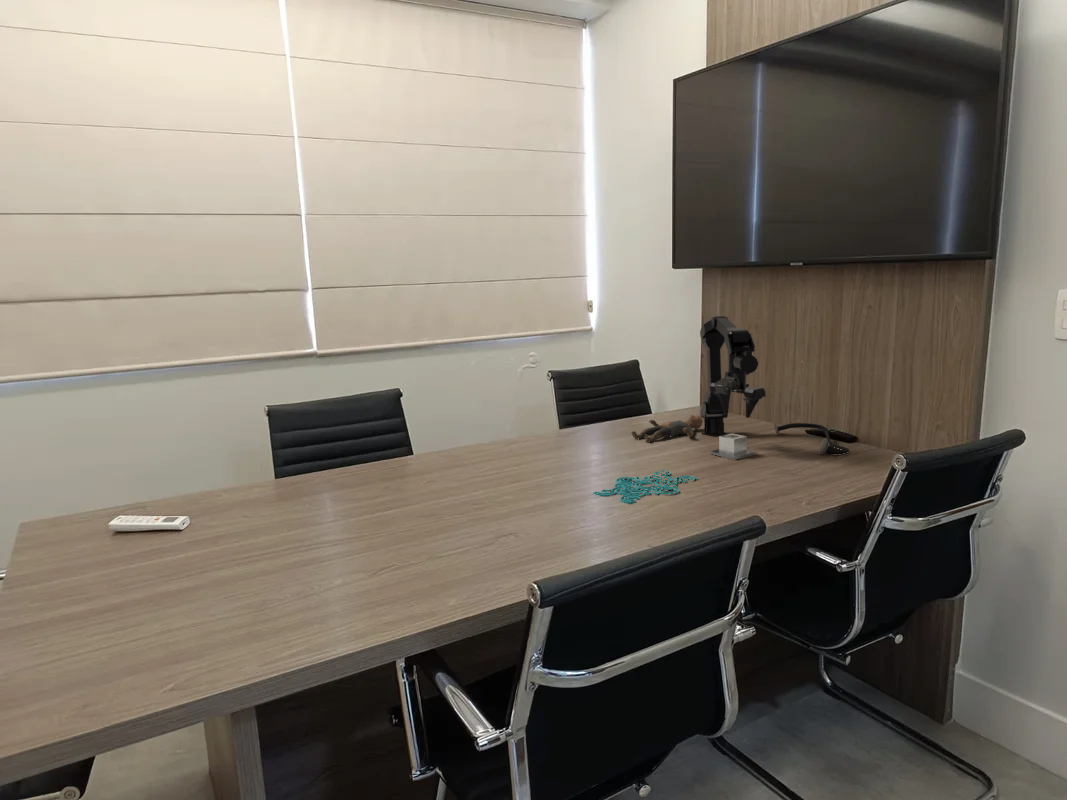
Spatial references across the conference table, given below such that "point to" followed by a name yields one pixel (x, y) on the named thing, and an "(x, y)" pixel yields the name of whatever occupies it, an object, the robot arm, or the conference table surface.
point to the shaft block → (731, 456)
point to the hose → (825, 446)
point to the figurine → (670, 429)
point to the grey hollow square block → (733, 444)
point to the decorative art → (632, 496)
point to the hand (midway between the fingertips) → (736, 415)
